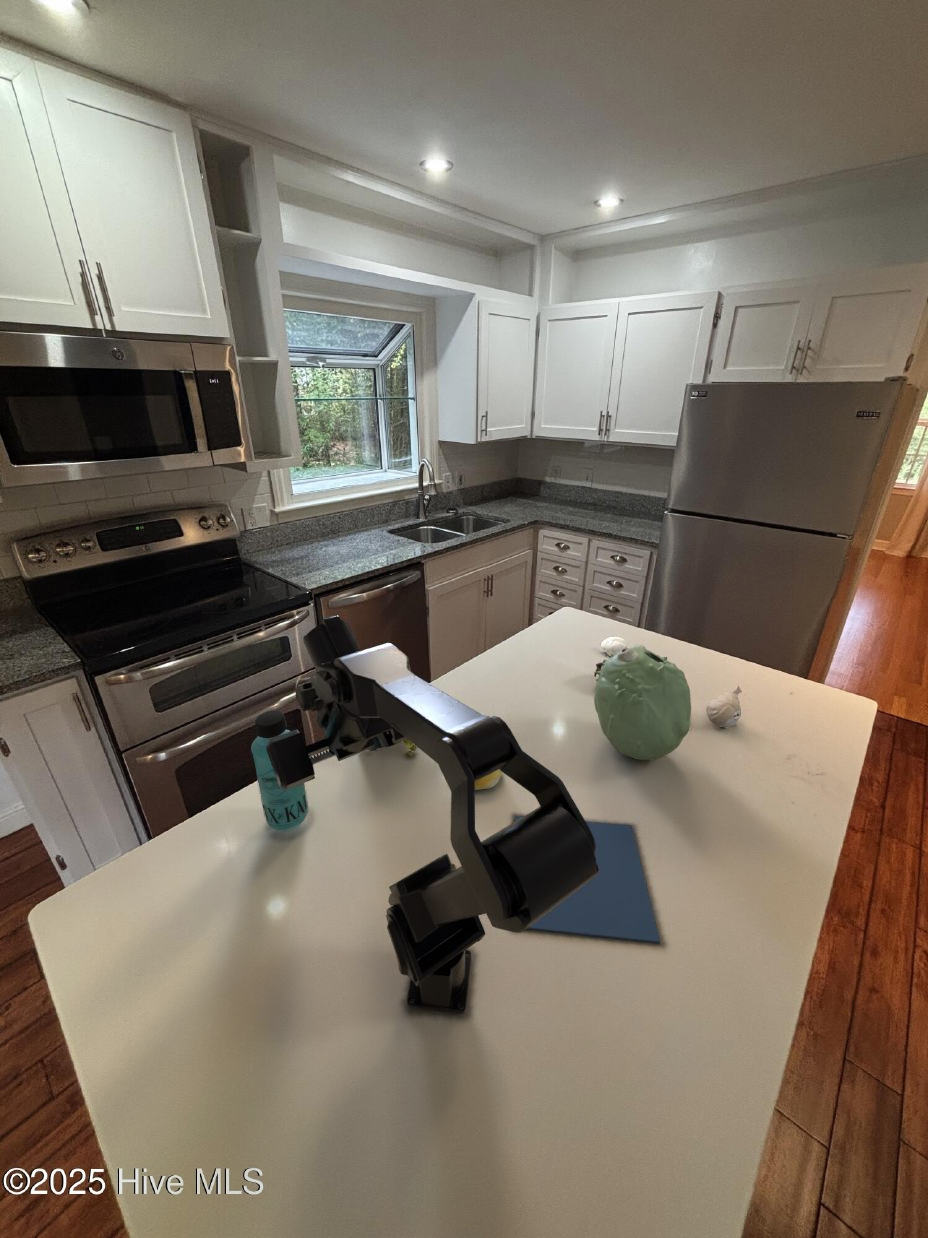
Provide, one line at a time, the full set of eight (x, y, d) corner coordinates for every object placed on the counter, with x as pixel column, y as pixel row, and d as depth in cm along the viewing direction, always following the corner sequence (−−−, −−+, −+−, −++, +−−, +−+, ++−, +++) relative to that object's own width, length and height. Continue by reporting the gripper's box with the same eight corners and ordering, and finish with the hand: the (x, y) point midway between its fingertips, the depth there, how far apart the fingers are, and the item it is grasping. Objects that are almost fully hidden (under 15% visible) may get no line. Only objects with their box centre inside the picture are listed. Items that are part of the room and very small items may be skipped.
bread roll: (477, 800, 82) (477, 781, 80) (443, 771, 88) (443, 753, 86) (512, 776, 87) (513, 758, 85) (478, 751, 93) (478, 734, 91)
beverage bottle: (265, 814, 79) (241, 710, 71) (308, 801, 82) (290, 699, 73) (269, 845, 74) (244, 736, 66) (315, 830, 76) (296, 723, 68)
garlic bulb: (744, 733, 98) (754, 699, 94) (711, 733, 98) (720, 698, 94) (729, 713, 104) (737, 680, 100) (698, 713, 104) (705, 680, 100)
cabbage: (645, 796, 83) (665, 694, 74) (568, 735, 97) (577, 644, 89) (704, 762, 90) (728, 666, 82) (624, 710, 105) (637, 625, 96)
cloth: (659, 943, 61) (660, 941, 60) (511, 927, 62) (511, 925, 62) (631, 826, 77) (631, 825, 77) (514, 816, 79) (514, 815, 79)
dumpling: (629, 654, 128) (632, 643, 125) (617, 664, 125) (620, 653, 122) (607, 641, 132) (609, 630, 129) (595, 650, 129) (597, 639, 126)
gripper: (396, 638, 67) (374, 690, 79) (252, 681, 57) (251, 733, 69) (433, 710, 63) (404, 753, 75) (285, 770, 53) (279, 808, 65)
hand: (337, 759), depth 71 cm, fingers open, 9 cm apart
